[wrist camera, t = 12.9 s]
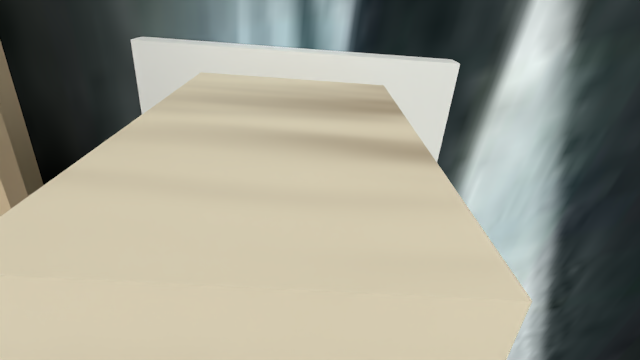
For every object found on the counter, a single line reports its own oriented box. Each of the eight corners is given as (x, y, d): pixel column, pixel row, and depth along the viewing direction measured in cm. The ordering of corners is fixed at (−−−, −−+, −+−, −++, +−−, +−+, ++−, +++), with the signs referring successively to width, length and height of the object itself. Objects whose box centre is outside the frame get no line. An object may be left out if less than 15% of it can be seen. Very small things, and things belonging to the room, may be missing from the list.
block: (200, 72, 10) (-76, 271, 3) (383, 85, 10) (531, 301, 3) (220, 349, 15) (135, 670, 8) (343, 354, 15) (366, 672, 8)
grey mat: (142, 36, 12) (130, 39, 11) (451, 59, 12) (460, 63, 12) (179, 311, 17) (173, 325, 17) (393, 321, 18) (396, 335, 17)
